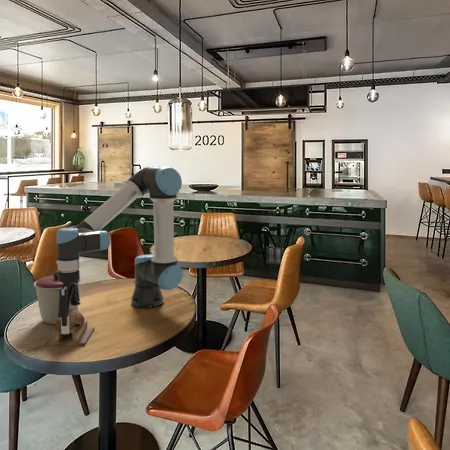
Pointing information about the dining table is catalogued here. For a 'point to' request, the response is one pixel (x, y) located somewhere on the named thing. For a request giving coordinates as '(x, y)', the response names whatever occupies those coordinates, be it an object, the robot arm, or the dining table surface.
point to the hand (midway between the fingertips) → (70, 327)
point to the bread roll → (72, 320)
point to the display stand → (71, 337)
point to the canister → (49, 297)
